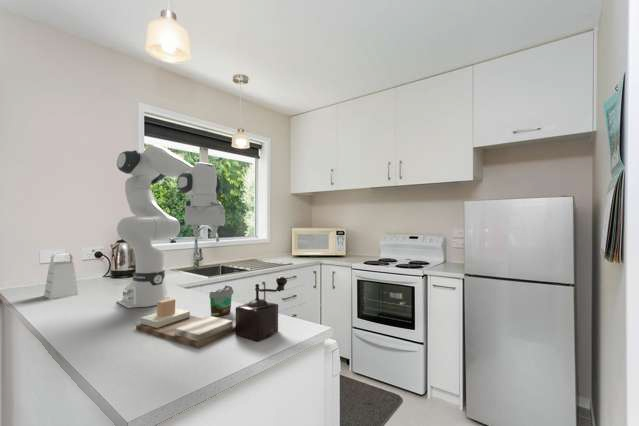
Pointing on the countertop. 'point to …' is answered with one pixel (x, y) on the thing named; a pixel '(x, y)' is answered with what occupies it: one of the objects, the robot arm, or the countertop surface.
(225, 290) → the food container
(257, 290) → the manual coffee grinder
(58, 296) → the grater
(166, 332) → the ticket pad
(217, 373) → the countertop surface
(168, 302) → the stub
